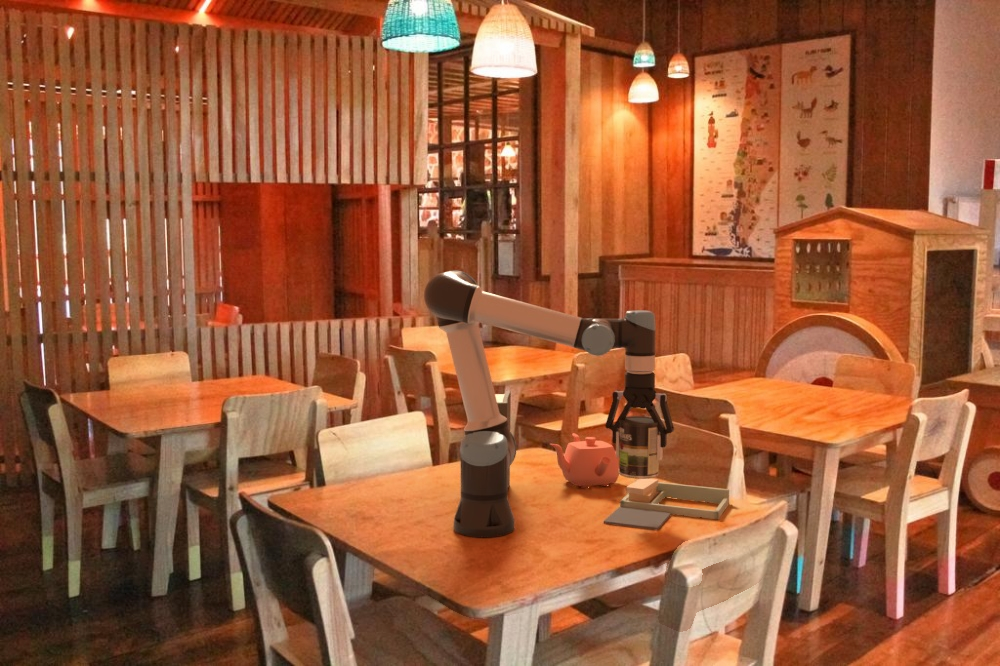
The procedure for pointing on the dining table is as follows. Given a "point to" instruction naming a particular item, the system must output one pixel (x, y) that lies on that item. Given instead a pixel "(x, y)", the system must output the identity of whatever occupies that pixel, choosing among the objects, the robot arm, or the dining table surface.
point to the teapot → (588, 462)
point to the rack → (652, 492)
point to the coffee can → (638, 448)
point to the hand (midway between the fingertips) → (639, 457)
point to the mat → (637, 518)
